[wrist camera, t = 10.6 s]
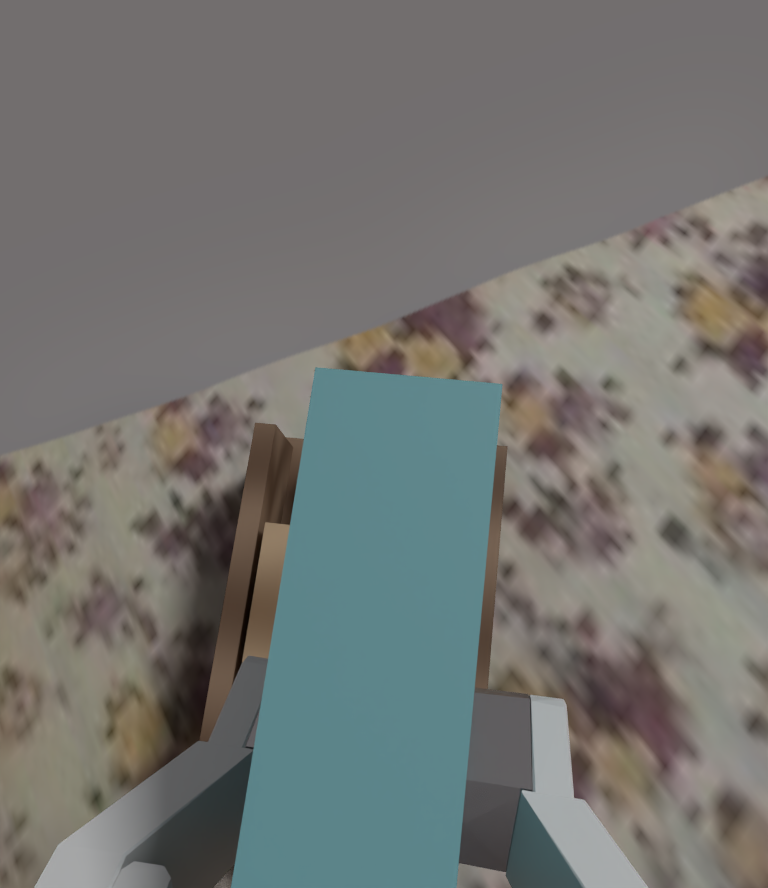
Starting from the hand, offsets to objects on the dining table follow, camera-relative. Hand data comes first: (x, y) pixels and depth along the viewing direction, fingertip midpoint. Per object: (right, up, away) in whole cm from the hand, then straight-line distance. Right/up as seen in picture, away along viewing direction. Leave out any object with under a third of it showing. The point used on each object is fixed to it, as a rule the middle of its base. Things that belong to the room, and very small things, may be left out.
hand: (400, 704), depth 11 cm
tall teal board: (+1, -2, +8) cm, 9 cm away
